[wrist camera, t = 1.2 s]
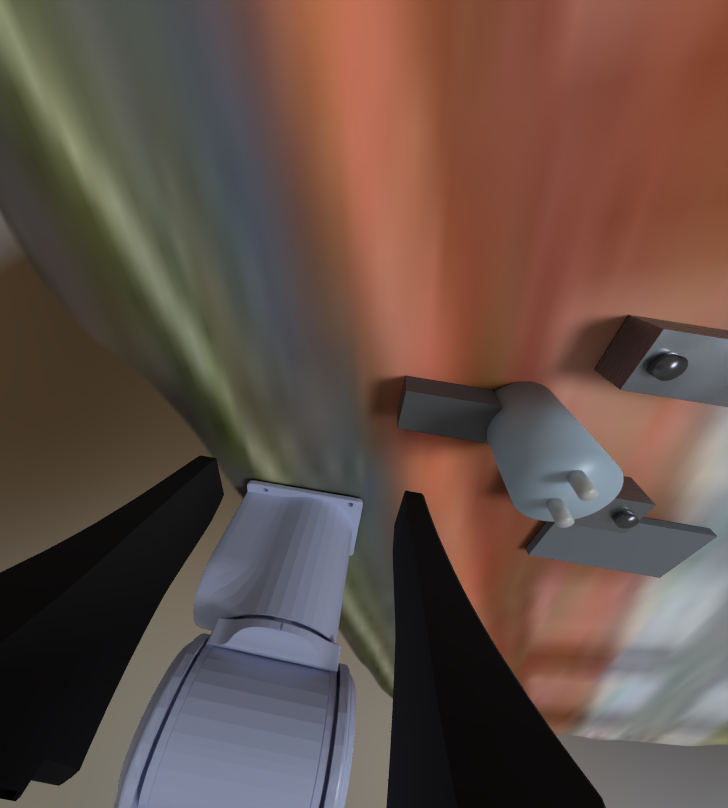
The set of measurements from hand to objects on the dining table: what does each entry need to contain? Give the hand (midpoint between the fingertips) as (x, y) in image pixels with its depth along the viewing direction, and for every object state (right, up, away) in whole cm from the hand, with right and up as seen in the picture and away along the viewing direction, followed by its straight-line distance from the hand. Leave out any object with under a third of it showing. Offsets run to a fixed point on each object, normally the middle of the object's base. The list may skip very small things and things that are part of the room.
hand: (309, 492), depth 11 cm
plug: (+9, +3, +7) cm, 12 cm away
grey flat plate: (+22, -7, +12) cm, 26 cm away
